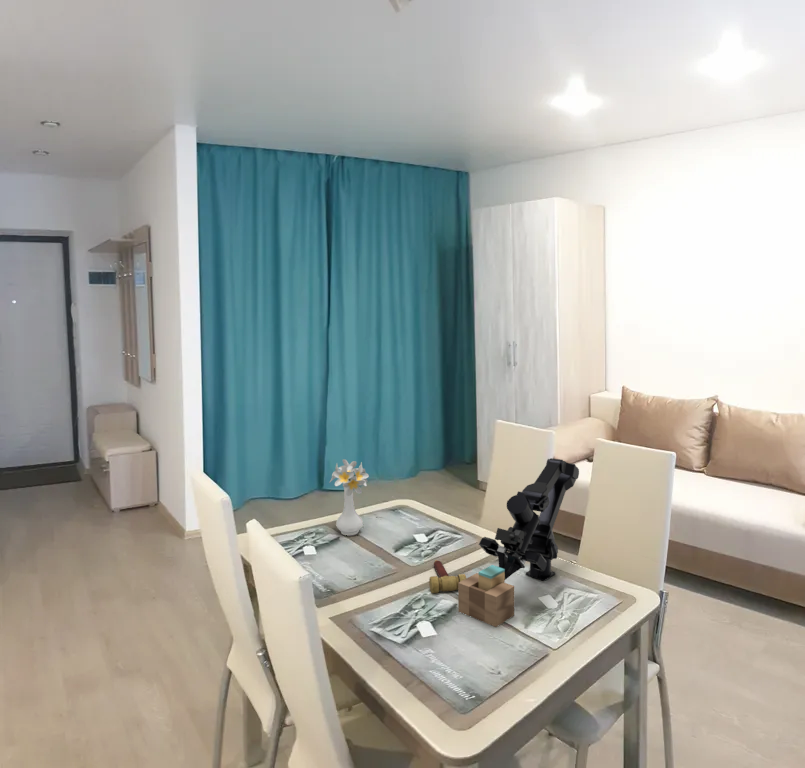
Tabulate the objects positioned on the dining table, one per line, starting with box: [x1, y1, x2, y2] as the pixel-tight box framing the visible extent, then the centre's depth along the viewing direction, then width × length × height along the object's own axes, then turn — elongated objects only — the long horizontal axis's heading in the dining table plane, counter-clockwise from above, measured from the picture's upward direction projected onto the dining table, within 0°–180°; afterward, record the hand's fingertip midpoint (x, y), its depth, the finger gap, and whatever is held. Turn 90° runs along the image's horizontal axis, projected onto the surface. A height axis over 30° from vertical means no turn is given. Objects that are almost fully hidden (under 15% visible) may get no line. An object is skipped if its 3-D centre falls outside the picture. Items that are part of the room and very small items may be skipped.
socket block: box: [457, 572, 515, 628], centre depth 173 cm, size 8×12×8 cm, turn 46°
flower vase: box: [328, 458, 370, 537], centre depth 229 cm, size 13×18×25 cm
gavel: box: [428, 559, 467, 594], centre depth 195 cm, size 21×5×10 cm
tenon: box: [477, 564, 506, 591], centre depth 174 cm, size 6×4×11 cm, turn 136°
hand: (499, 582), depth 176 cm, fingers closed, pressing on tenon
